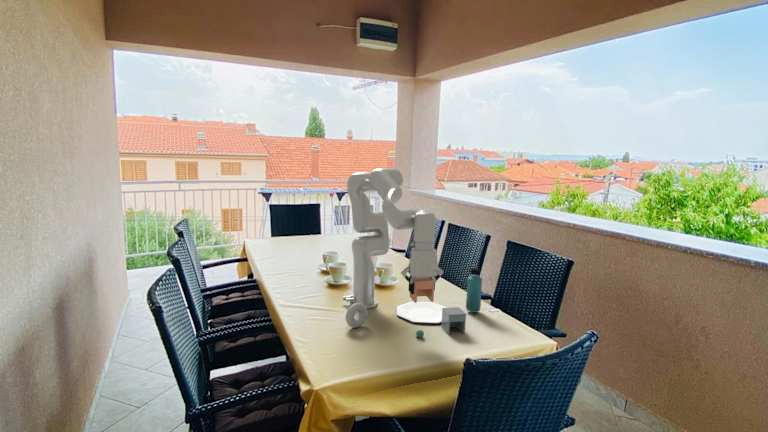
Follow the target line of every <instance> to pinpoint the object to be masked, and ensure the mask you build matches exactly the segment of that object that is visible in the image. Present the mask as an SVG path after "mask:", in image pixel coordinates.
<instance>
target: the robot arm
mask: <svg viewBox="0 0 768 432" xmlns="http://www.w3.org/2000/svg"><path fill="white" fill-rule="evenodd" d="M403 181H404V177H403V174H402V172H401V171H400V170H399V169H397V168H393V167H390V168H389V167H388V168H387V167H386V168H385V167H382V168H381V167H378V168H375V169H373V170H372V171H359V172H354V173H352V174H350V176H349V177H348V179H347V183H346V188H347V193H348V196H349V197H348V198H349V200H350V204H351V205H350V206H351V214H352V215H351V216H352V224H353V230H354V231H355V232H356V233H359V234H365V233H366V234H367V233H374V234H373V235H372V234H371V235H360V236H358V237H356V238H354V239H353V241H352V242H351V250H352V252H351V253H352V257H353V258H352V259H353V281H352V282H353V285H352V287H353V288H352V289H353V290H352V293H351V295H349V296H348V295H343V296H342V301H346V302H347V303H348V302H349V306H351V305H352V304H355V303H362V304H364V305H365V306H366V308H367V310H368V309H369V310H370V309H373V308H375V307H377V305H378V301H377V300H376V299H375V281H376V280H375V278H376V277H375V276H376V275H375V273H376V272H375V270H376V269H375V267H376V266H375V264H374V262H373V261H372V258H373V257H377V256H383V255H386V254H388V253H389V250H390V236H389V235H390V234H389V225H390V226H391V228H393V229H395V230H397V231H398V230H400V231H403V230H411V229H412V230H413V240H412V242H409V246H410V247H411V250H410V254H409V258H408V259H409V260H408V266H406V267H404V269H402V271H401V272H400V274H401V275H402V276H403V278H404V279H405V280H406V281H407V282H408V292H409V294H410V293H411V294H414V284H413V282H414V280H415V278H423V277H431V278H432V279H433V280H434V291H435V290H436V283H437V281H438V280H439V279H440V277H441V276H442V275H443V274H444V270H443V269H442V268H440V267H439V266H438V253H437V250H436V248H435V235H436V215H435V213H434V212H432V211H425V210H423V209H421V208H402V209H399V208H398V207H397V206H396V205H395V204H396V203H397V202H398V201H400V199H402V196H403V189H402V188H401V186H402V184H403ZM365 192H377V194H378V195H379V196H380V198H381V199H382V205H381V207H382V209H381V210H382V211H381V210H380V211H378V210H372V207H371V201H370V199H369V197H368V196H367V194H366V193H365ZM388 224H389V225H388ZM407 274H409V276H408V275H407Z"/></svg>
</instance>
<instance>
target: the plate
mask: <svg viewBox="0 0 768 432" xmlns="http://www.w3.org/2000/svg"><path fill="white" fill-rule="evenodd" d="M442 308H448V306H444V305H441V304H439V303H436V302H434V301H433V302H431V301H417V303H415V302H414V301H409V302H407V303H404V304H403V303H402V304H399V305H397V306H396V316H397V317H399V318H400V319H401V318H402V319H404V320H406V321H409V322H411V323H414V324H429V325H431V324H433V325H437V324H442Z"/></svg>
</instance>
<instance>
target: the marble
mask: <svg viewBox="0 0 768 432" xmlns="http://www.w3.org/2000/svg"><path fill="white" fill-rule="evenodd" d="M424 335H425V332H424V331H423V329H417V330H416V331H415V336H416V337H417V338H419V339H422V338H423V337H424Z"/></svg>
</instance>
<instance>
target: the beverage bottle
mask: <svg viewBox="0 0 768 432" xmlns="http://www.w3.org/2000/svg"><path fill="white" fill-rule="evenodd" d="M470 274H471V275H469V276H468V277H467V283H466V299H465V309H466V311H469V312H473V313H474V312H475V313H476V312H480V310H481V304H482V284H483V278H482V277H481V276H480V275H481V269H480V268H478V267H471V269H470Z"/></svg>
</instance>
